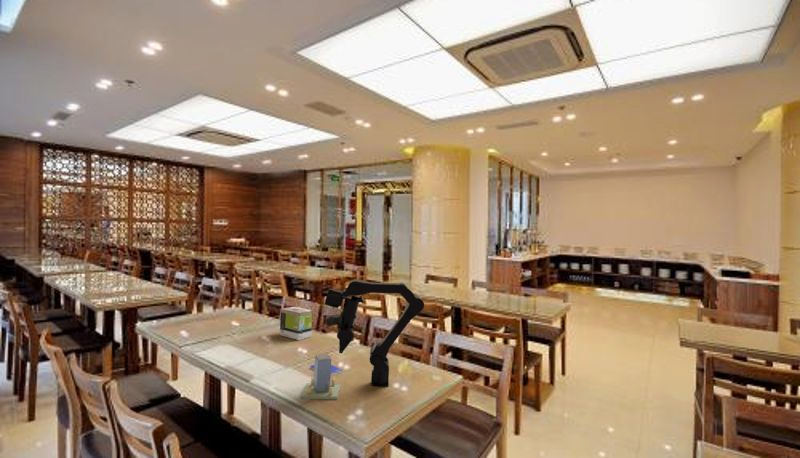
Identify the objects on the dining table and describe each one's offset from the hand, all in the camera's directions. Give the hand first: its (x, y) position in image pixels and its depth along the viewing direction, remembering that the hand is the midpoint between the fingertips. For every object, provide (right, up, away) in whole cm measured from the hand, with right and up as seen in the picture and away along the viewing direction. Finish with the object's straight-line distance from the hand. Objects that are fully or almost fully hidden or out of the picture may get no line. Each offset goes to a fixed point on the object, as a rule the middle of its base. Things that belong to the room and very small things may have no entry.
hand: (340, 349), depth 155 cm
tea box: (-34, -11, +58) cm, 68 cm away
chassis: (-6, -13, -10) cm, 17 cm away
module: (-5, -12, -10) cm, 17 cm away
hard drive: (-8, -13, +12) cm, 20 cm away
